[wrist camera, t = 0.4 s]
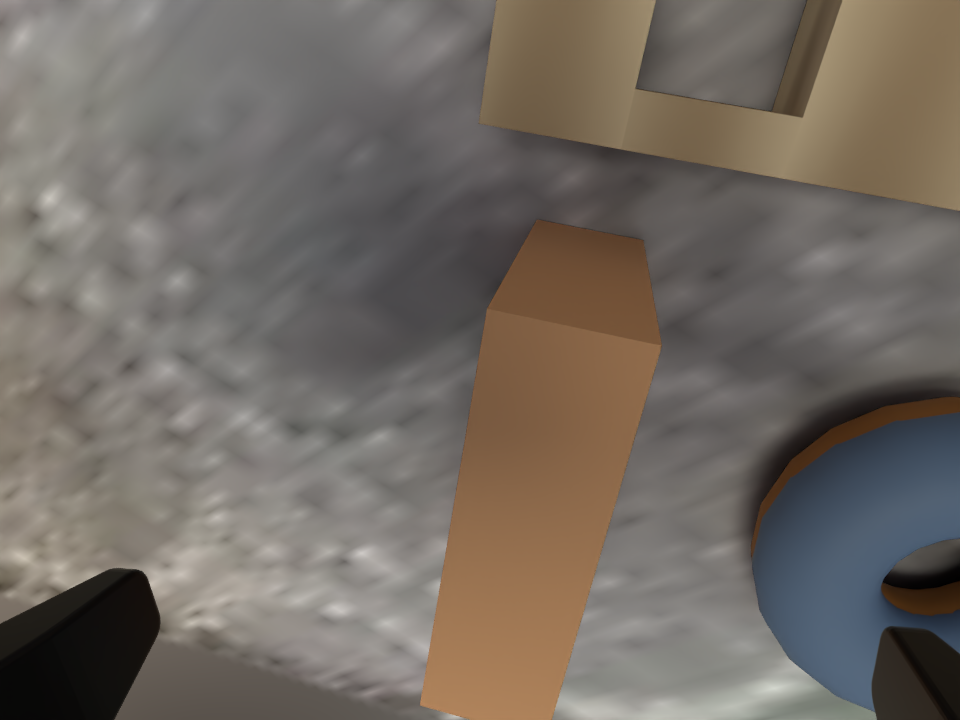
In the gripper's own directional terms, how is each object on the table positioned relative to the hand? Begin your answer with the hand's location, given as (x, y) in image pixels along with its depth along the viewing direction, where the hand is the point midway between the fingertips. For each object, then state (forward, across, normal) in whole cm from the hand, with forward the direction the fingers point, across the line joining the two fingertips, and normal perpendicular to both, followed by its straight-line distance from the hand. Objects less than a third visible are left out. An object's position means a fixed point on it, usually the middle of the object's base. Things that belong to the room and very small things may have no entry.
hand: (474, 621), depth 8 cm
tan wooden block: (+13, 0, +3) cm, 13 cm away
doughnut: (+13, -11, +7) cm, 18 cm away
